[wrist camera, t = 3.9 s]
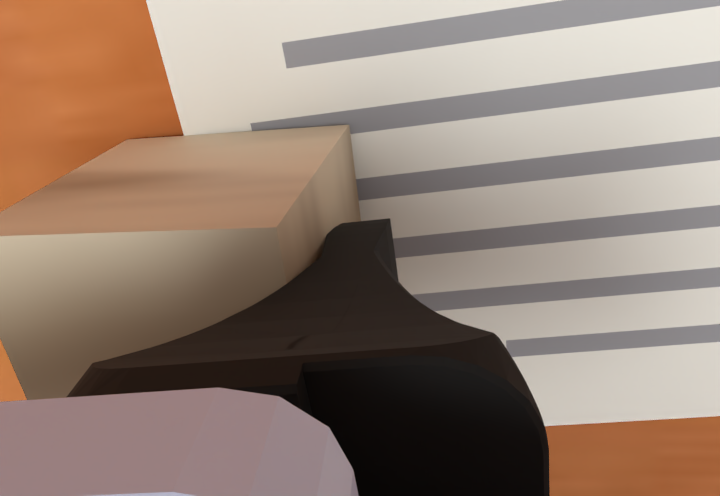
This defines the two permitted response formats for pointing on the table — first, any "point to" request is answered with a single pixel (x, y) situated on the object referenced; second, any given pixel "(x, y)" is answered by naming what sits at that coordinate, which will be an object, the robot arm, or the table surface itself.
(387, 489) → the robot arm
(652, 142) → the letter
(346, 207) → the beech block
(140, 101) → the table surface
